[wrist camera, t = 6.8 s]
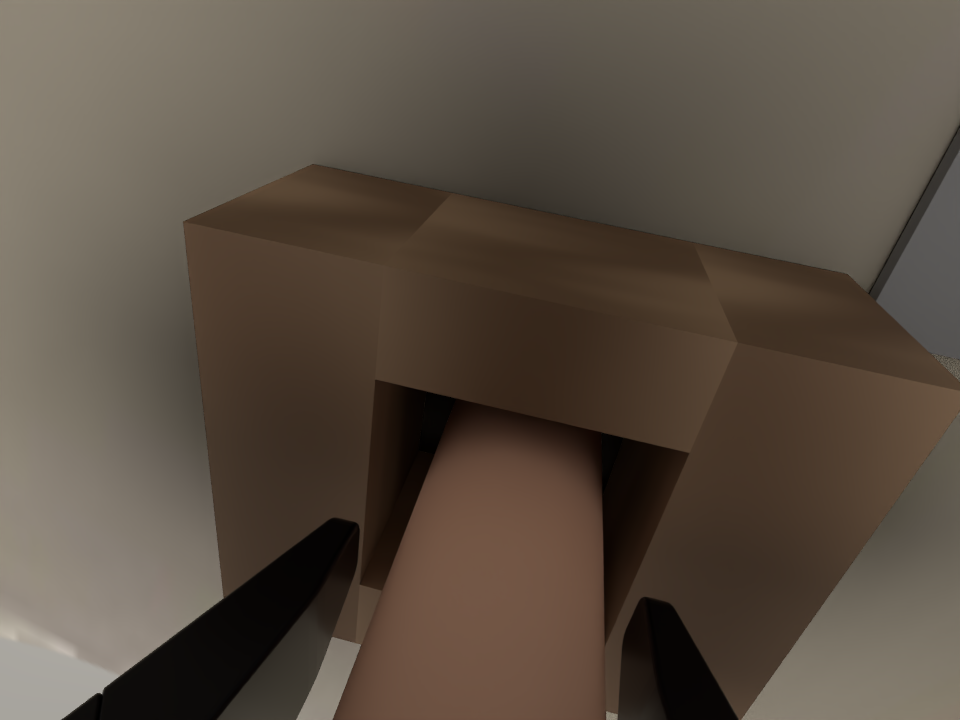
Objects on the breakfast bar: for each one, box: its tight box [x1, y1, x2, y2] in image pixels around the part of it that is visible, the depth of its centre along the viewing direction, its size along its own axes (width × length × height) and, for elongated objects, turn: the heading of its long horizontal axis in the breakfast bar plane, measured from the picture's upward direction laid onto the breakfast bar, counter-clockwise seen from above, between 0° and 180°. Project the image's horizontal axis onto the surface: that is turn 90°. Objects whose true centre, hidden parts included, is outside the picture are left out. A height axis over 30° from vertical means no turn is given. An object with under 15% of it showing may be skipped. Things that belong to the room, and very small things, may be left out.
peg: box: [333, 398, 606, 720], centre depth 9 cm, size 3×3×9 cm
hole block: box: [183, 164, 960, 720], centre depth 11 cm, size 10×8×4 cm
